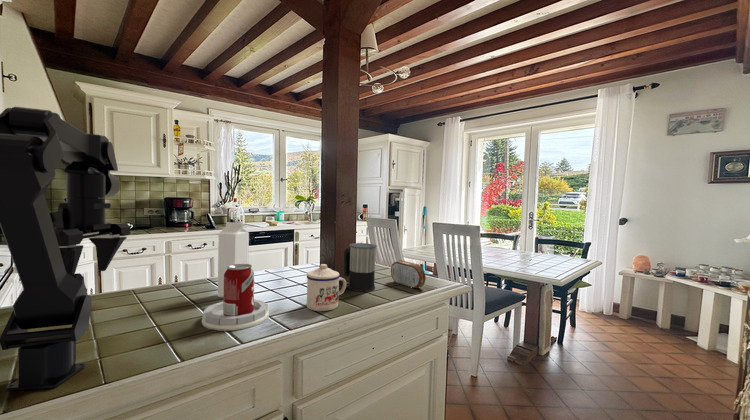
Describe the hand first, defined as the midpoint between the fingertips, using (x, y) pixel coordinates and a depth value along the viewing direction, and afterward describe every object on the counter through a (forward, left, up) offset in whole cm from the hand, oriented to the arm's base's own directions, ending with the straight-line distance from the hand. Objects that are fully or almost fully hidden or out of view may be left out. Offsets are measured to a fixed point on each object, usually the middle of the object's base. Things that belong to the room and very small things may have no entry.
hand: (86, 276), depth 63 cm
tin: (+37, -76, -13) cm, 86 cm away
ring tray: (+10, -26, -13) cm, 31 cm away
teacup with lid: (+18, -48, -13) cm, 53 cm away
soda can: (+9, -27, -12) cm, 31 cm away
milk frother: (+34, -56, -13) cm, 67 cm away
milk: (+29, -20, -13) cm, 38 cm away
